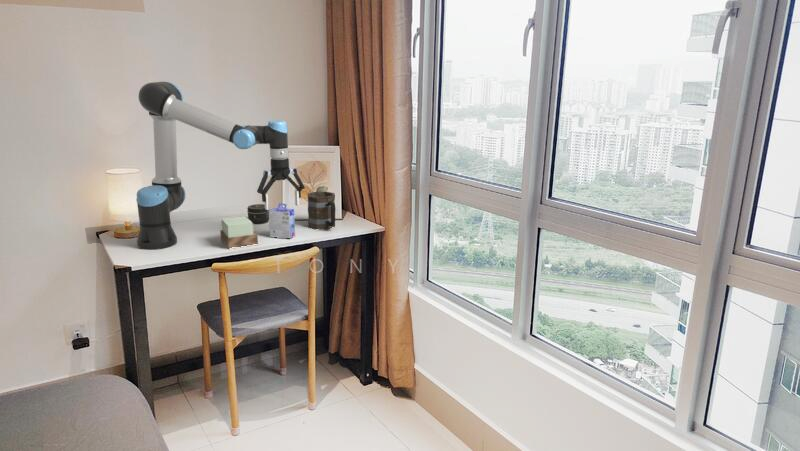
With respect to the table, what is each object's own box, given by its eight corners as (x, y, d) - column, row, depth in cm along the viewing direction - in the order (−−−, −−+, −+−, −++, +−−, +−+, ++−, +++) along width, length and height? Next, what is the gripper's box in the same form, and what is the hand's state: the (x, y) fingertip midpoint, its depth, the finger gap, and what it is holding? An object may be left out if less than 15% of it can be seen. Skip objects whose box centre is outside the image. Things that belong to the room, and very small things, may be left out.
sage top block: (228, 237, 226) (227, 225, 224) (222, 230, 236) (221, 218, 235) (253, 234, 231) (252, 222, 229) (245, 227, 241) (245, 216, 239)
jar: (245, 224, 262) (244, 208, 260) (251, 218, 272) (250, 203, 270) (266, 225, 262) (265, 209, 260) (272, 219, 271) (271, 204, 269)
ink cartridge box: (295, 235, 246) (294, 203, 242) (291, 239, 240) (289, 206, 237) (274, 234, 248) (273, 202, 244) (269, 237, 242) (267, 205, 238)
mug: (302, 224, 264) (301, 193, 260) (328, 220, 271) (327, 190, 267) (320, 234, 248) (319, 201, 244) (347, 230, 255) (347, 198, 251)
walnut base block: (228, 250, 226) (228, 238, 225) (221, 241, 237) (220, 230, 236) (258, 245, 232) (257, 234, 231) (249, 237, 243) (248, 226, 242)
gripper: (252, 161, 225) (256, 212, 231) (310, 157, 238) (312, 205, 243) (247, 159, 232) (251, 208, 237) (304, 154, 244) (306, 202, 250)
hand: (282, 207), depth 240 cm, fingers open, 13 cm apart
